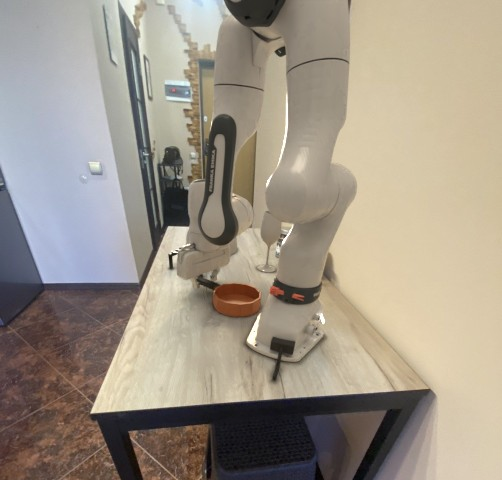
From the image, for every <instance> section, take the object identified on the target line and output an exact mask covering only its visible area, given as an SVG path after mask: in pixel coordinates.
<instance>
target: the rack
mask: <svg viewBox="0 0 502 480" xmlns="http://www.w3.org/2000/svg"><path fill="white" fill-rule="evenodd" d="M181 247H182V246H180V247H179V248H176V249H174V250H170V252H169V253H168V254H167V257H168V267H169V269H170V270H173V269H174V259H173V257H175V256H178V252H179V250H180V249H181ZM181 251H182V250H181ZM199 276H200V277H203V278H204V274H201V275H199Z"/></svg>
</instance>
